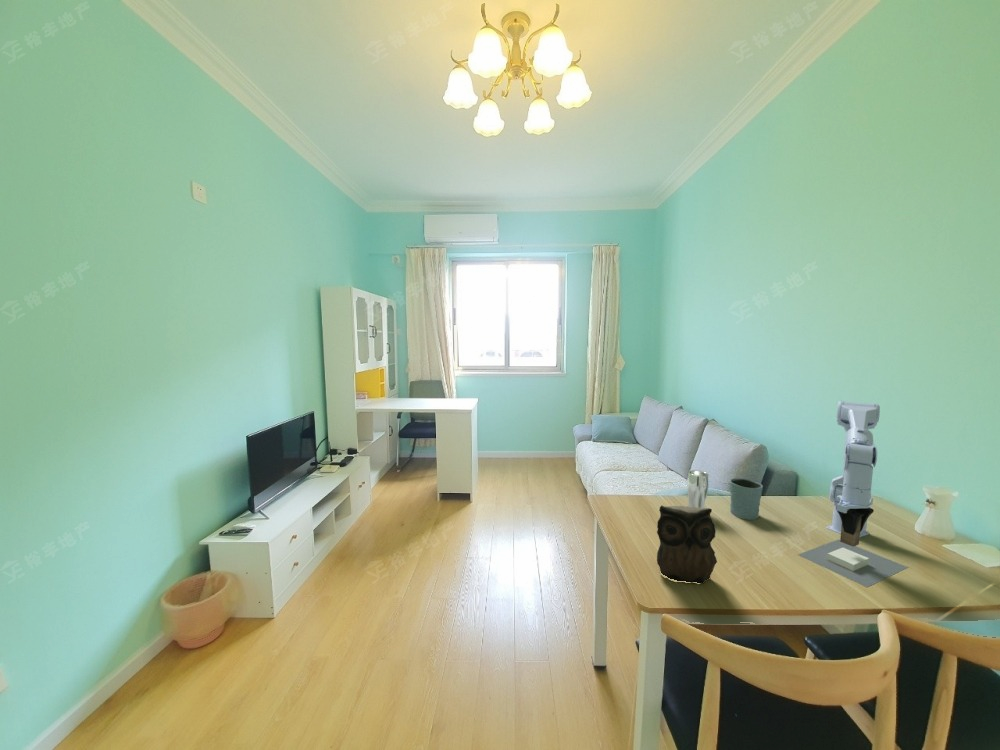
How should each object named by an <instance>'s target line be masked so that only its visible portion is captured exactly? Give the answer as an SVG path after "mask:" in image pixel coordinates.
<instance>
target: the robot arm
mask: <svg viewBox="0 0 1000 750" xmlns="http://www.w3.org/2000/svg"><path fill="white" fill-rule="evenodd" d="M836 408H837V410H836V423H837V425H838V426H841V427H843V428H844V431H845V444H844V449H843V470H842V475H839V476H836V477H834V478H832V480H831V483H830V487H829V501H830V502H831V503H833V511H832V512H833V513H832V522H831V525H827V526H826V527H825V528H826V529H828V530H830V531H832V532H836V534H837V533H838V534H840V535H841V526H842V525H843V529H844V532H846V533H849V534H851V535H854V534H855V532H856V529H857V525H858V522H859V520H860V519H861V527H860V538H861V537H865V536H868V535H870V534H871V533H870V532H869V531H867V526H868V518H869V517H870V516H871V515H872V514H873V513H874V511H875V510H874V509H873V508H871V506H872V505H873V502H874V498H873V497H872V483H873V475H874V474H873V473H874V468H875V467H876V465H877V461H878V449H877V446H876V444H874V435H873V433H872V431H870V430H872V429H873V430H874V429H875V428H876V427H877V425H878V422H879V420H880V415H881V414H880V412H881V410H880V409H881V407H880V405H879V404H878V403H867V402H866V403H865V402H858V401H857V402H854V401H845V400H844V401H843V400H839V401H838V402H837V407H836Z"/></svg>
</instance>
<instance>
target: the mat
mask: <svg viewBox="0 0 1000 750" xmlns="http://www.w3.org/2000/svg"><path fill="white" fill-rule="evenodd" d="M840 548H845V549H848V550H850V551H853V552H855V553H857V554H860V555H862V556H865V557H867V558H869V563H868V565H867V566H865V567H863V568H860V569H858V570H856V571H854V572H853V571H850V570H848V569H846V568H844V567H842V566H839V565H837V564H835V563H833V562H831V561H828V560H827V556H828V553H830V552H833V551H835V550H838V549H840ZM797 556H799V557H801V558H804V559H806V560H808V561H810V562H812V563H814V564H816V565H818V566H821V567H823V568H825V569H826V570H829V571H830V572H831V571H832V572H834V573H835V574H838V575H840V576H842V577H845V578H846V579H848V580H850V581H853V582H855V583H857V584H859V585H861V586H862V587H865V588H869V587H871V586H873V585H875V584H877V583H879V582H881V581H883V580H886V579H888V578H889V577H892V576H893V575H895V574H898V573H901V572H902V571H904V570H905V569H906V570H907V569H908V568H909V566H906V565H904V564H901V563H899V562H896V561H894V560H892V559H890V558H886V557H884V556H881V555H879V554H876V553H874V552H871V551H869V550H867V549H864V548H861V547H859V546H858V545H856V546H854V547H853V546H850V545H848V544H845V543H843V542H840V539H839V538H838V539H837V540H832V541H829V542H828V543H824V544H823V545H820V546H817V547H815V548H812V549H809V550H807V551H806V550H805V551H804V552H801V553H798V554H797Z"/></svg>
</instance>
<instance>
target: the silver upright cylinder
mask: <svg viewBox="0 0 1000 750" xmlns="http://www.w3.org/2000/svg"><path fill="white" fill-rule="evenodd" d="M686 481H687V482H686V483H687V484H686V486H687V495H688V504H687V506H691V507H698V508H706V507H705V506H706V505H705V503H706V499H707V497H708V493H709V492H708V491H709V485H710V484H709V482H710V481H709V474H708V473H707V472H705V471H701V470H696V469H694V470H693V469H692V470H689V471H688V474H687V480H686Z"/></svg>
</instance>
